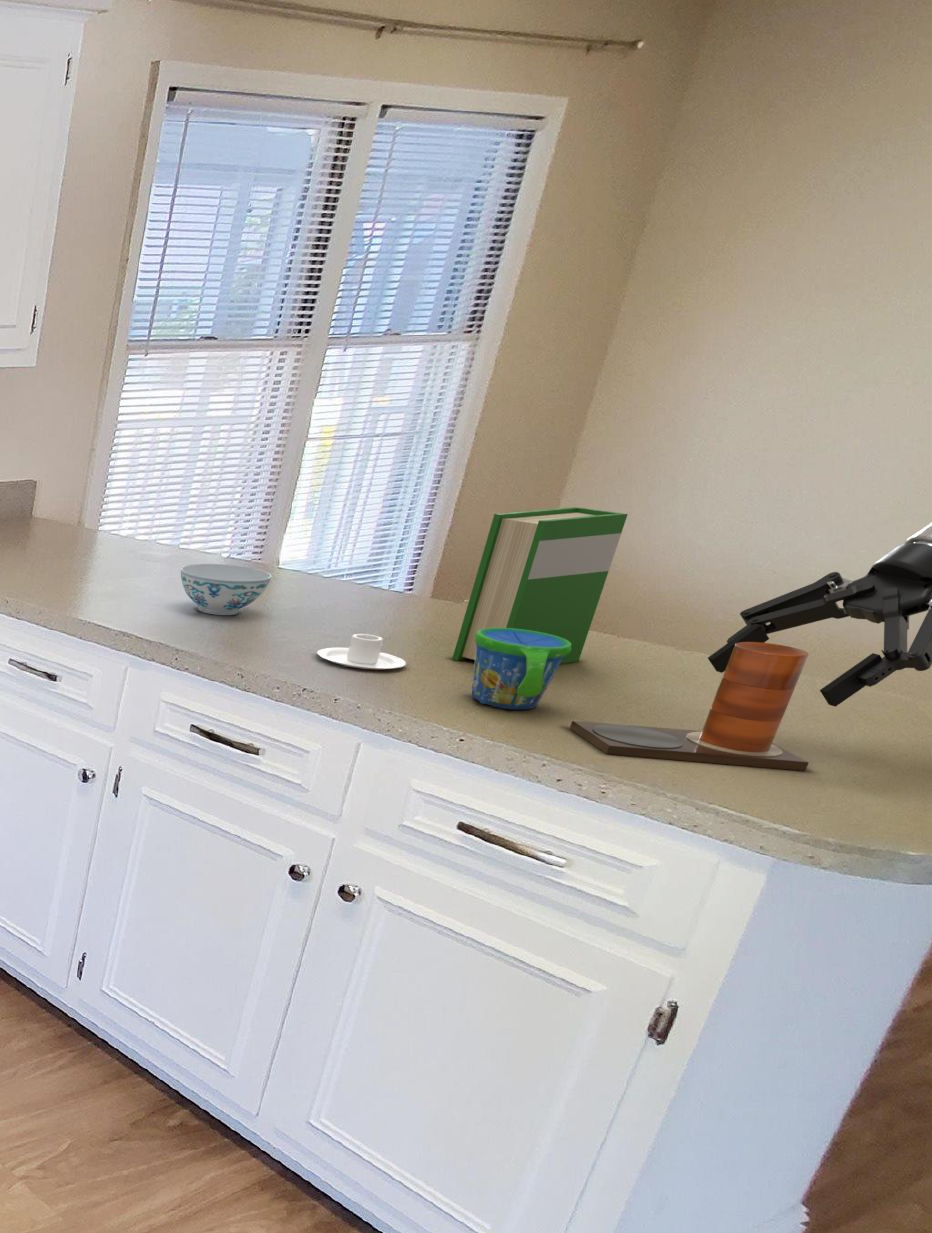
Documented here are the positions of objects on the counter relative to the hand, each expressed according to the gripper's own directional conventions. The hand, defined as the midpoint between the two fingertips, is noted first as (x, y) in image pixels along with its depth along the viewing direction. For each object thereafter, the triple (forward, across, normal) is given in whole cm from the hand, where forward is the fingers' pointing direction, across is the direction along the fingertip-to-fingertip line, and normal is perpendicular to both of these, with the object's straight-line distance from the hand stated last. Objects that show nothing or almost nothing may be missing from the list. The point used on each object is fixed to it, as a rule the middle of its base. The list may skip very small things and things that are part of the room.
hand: (768, 681), depth 142 cm
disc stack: (+7, 0, -5) cm, 9 cm away
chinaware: (+24, +76, +9) cm, 80 cm away
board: (+11, +2, -3) cm, 12 cm away
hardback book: (+3, +41, -11) cm, 43 cm away
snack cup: (+17, +21, +3) cm, 27 cm away
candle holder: (+21, +42, +7) cm, 48 cm away
